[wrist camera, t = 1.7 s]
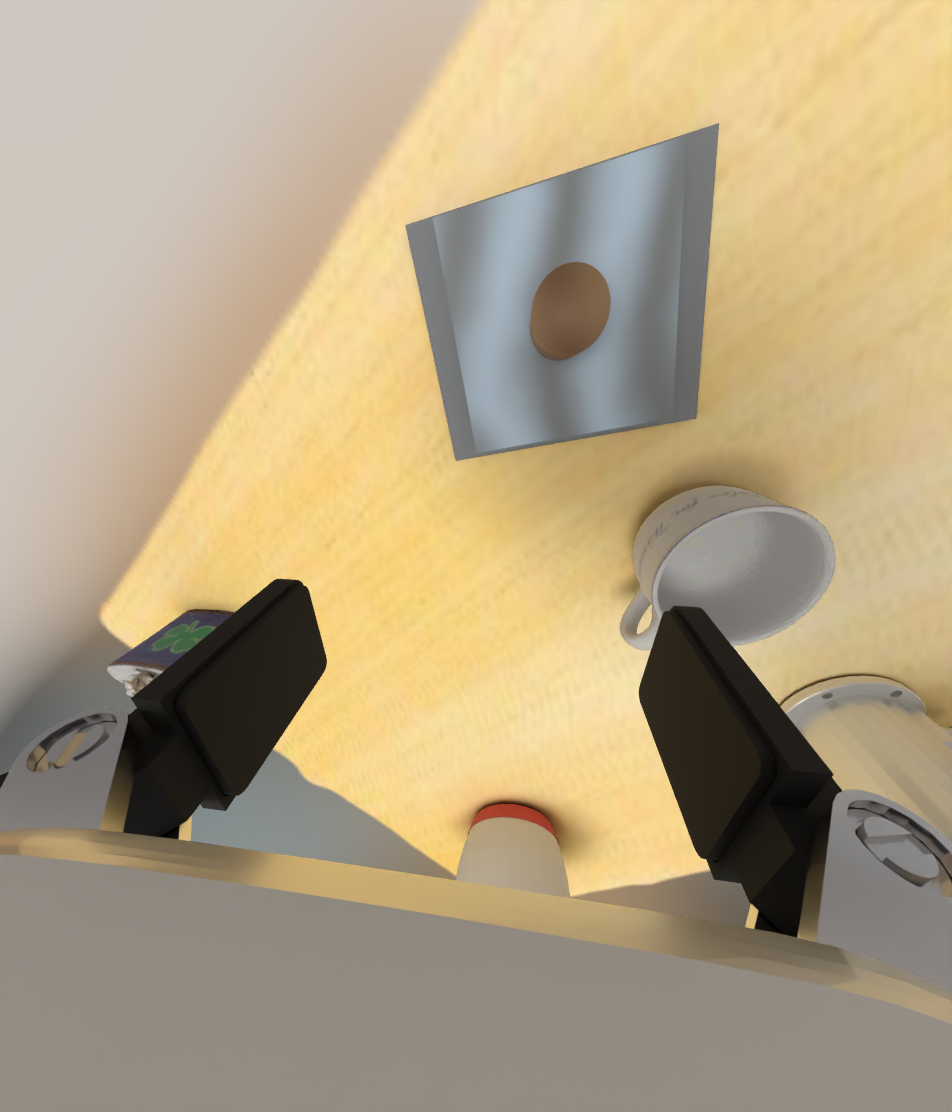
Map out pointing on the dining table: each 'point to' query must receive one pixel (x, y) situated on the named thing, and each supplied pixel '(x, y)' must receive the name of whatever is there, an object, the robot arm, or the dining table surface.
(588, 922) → the robot arm
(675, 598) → the teacup
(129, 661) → the flask
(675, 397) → the tray
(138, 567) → the dining table surface
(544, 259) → the lid
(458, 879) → the citrus juicer
